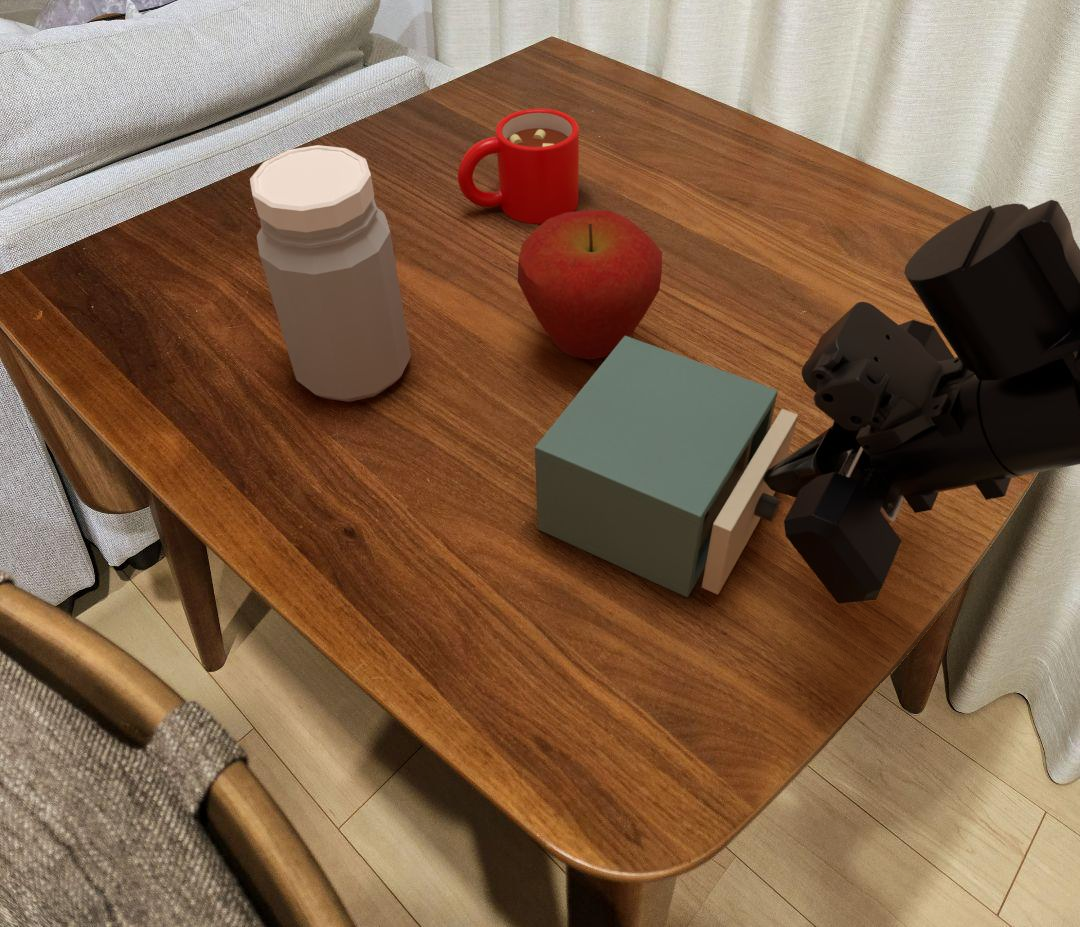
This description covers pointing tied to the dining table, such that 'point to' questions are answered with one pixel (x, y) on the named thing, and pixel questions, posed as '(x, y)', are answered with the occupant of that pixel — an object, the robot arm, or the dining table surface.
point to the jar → (331, 271)
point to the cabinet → (647, 459)
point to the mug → (528, 166)
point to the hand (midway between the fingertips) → (768, 480)
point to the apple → (589, 279)
